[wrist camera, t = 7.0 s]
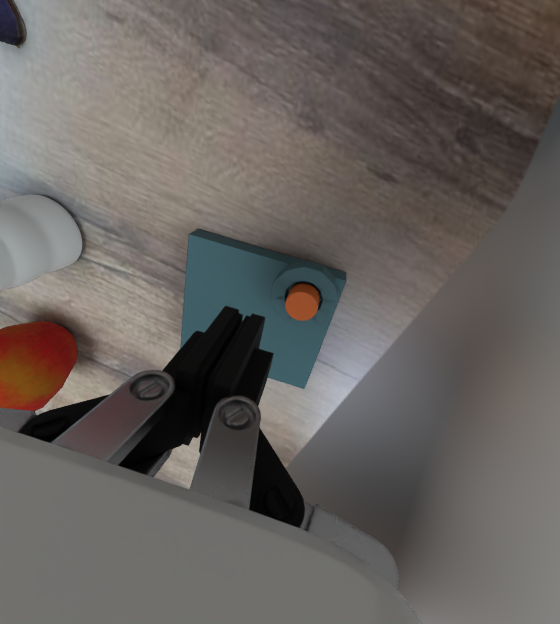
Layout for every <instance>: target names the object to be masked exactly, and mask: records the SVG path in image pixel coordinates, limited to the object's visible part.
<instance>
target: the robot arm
mask: <svg viewBox="0 0 560 624" xmlns="http://www.w3.org/2000/svg"><path fill="white" fill-rule="evenodd" d="M242 318H243V314H240V313H239V309H236V308H232V307H229V306H225V307H224V308H223V309H222V310H221V312H220V313H219V314H218V316H217V317H216V318H215V319H214V321H213V322H212V323H211V325H210V326H209V327H208V329H207V330H206V331H205V332H201V331H198V330H197V331H195V332H194V333H193V334H192V336H191V337H190V338H189V339H188V340H187V342H186V343H185V344H184V345H183V346H182V348H181V349H180V350H179V351H178V352H177V354H176V355H175V356H174V357H173V359H172V360H171V361H170V362H169V363H168V365H167V366H166V367H165V368H164V369H163V371H160V370H148V371H143V372H140V373H137V374H136V375H134V376H132V377H131V378H130V379H128V380H127V381H126V382H125V383H124V384H122V385H121V386H120V387H119V388H117V389H116V390H115V391H114V392H113V393H111V394H110V395H106V396H102V397H99V398H95V399H91V400H87V401H83V402H80V403H76V404H72V405H68V406H64V407H61V408H57V409H53V410H50V411H47V412H44V413H41V414H39V415H36V413H35V411H29V410H19V409H8V408H0V624H422V622H421V620H420V619H419V617H418V615H417V614H416V613H415V611H414V610H413V608H412V607H411V606H410V604H409V603H408V602H407V601H406V599H405V598H404V597H403V596H402V595H401V594H400V593H399V592H398V588H399V578H398V577H399V576H398V569H397V566H396V564H395V561H394V558H393V557H392V555H391V554H390V553H389V551H388V550H387V548H386V547H385V546H383V545H382V544H381V543H380V542H379V541H377V540H375V539H374V538H372V537H371V536H369V535H367V534H365V533H364V532H362V531H361V530H359V529H357V528H356V527H354V526H352V525H351V524H349V523H348V522H346V521H344V520H342V519H341V518H339V517H337V516H336V515H334V514H333V513H331V512H329V511H328V510H326V509H324V508H323V507H321V506H320V505H318V504H316V505H315V506H313V505H311V504H310V503H308V502H306V501H305V500H303V498H302V495H301V493H300V491H299V490H298V488H297V486H296V485H295V483H294V482H293V480H292V478H291V477H290V475H289V474H288V472H287V470H286V469H285V467H284V466H283V464H282V462H281V461H280V459H279V458H278V456H277V455H276V453H275V451H274V450H273V448H272V447H271V445H270V443H269V442H268V440H267V439H266V437H265V435H264V434H263V432H262V431H261V429H260V420H261V413H260V410H259V407H258V405H259V402H260V399H261V396H262V393H263V390H264V387H265V384H266V381H267V378H268V374H269V371H270V367H271V363H272V359H273V355H274V353H272V352H268V351H265V350H262V349H259V346H260V341H261V337H262V332H263V328H264V323H265V317H263V316H260V315H256V314H253V313H252V314H251V316H247V315H246V316H245V318H244V320H243V321H242ZM200 433H201V440H200V449H199V452H200V457H199V460H198V464H197V467H196V470H195V473H194V477H193V480H192V483H191V487H190V490H189V489H186V488H183V487H180V486H177V485H174V484H171V483H168V482H165V481H162V480H159V479H156V478H153V477H154V476H155V475H156V473H157V472H158V471H159V469H160V468H161V467H162V465H163V464H164V463H165V462H166V460H167V459H168V458H169V456H170V454H171V452H172V449H174V448H176V447H179V446H181V445H182V444H185V445H188V446H189V444H190V442H191V440H192V438H193V437H195V438H198V437H199V435H200Z"/></svg>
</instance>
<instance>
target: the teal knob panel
mask: <svg viewBox="0 0 560 624" xmlns="http://www.w3.org/2000/svg"><path fill="white" fill-rule="evenodd" d="M301 283H305V284H309V285H311V286H313V287H314V288H315V289H316V290H317V291H318V293H319V305H318V310H317V313H316V315H315V316H314V317H312V318H311V319H309V320H305V321H300V320H296V319H294V318H292V317H291V316H290V315H289V314H288V313H287V311H286V308H285V302H286V299H287V297H288V294H289V291H290V290H291V288H292V287H294V286H295V285H297V284H301ZM345 283H346V273H345V272H342V271H338V270H335V269H332V268H328V267H325V266H323V265H321V264H317V263H314V262H311V261H307V260H301V259H298V258H294V257H291V256H288V255H284V254H281V253H277V252H274V251H271V250H267V249H264V248H261V247H257V246H254V245H250V244H247V243H244V242H240V241H237V240H233V239H230V238H227V237H223V236H220V235H216V234H213V233H210V232H206V231H203V230H200V229H197V230H195V231H194V232H192V233H190V234H189V239H188V253H187V266H186V280H185V293H184V307H183V320H182V334H181V347H180V349H181V348H182V346H183V345H184V344H185V343H186V342H187V340H188V339H189V338H190V337H191V336H192V334H193V333H194V332H195V331H197V330H198V331H201V332H205V331H206V330H207V329H208V327H209V326H210V325H211V323H212V322H213V321H214V319H215V318H216V317H217V316H218V314H219V313H220V312H221V310H222V309H223V308H224V307H225V306H229V307H232V308H236V309H239V313H240V314H243V318H242V321H243V320H244V318H245V316H246V315H247V316H251V314H252V313H253V314H256V315H260V316H263V317H265V323H264V328H263V332H262V337H261V341H260V346H259V349H262V350H265V351H268V352H272V353H274V355H273V359H272V363H271V367H270V371H269V374H268V378H271V379H274V380H278V381H281V382H284V383H287V384H290V385H293V386H297V387H300V388H303V389H304V388H305V386H306V384H307V381H308V379H309V376H310V373H311V371H312V368H313V366H314V363H315V360H316V358H317V355H318V353H319V350H320V348H321V345H322V342H323V340H324V337H325V335H326V332H327V330H328V327H329V324H330V322H331V319H332V317H333V314H334V312H335V309H336V306H337V304H338V301H339V299H340V296H341V293H342V291H343V288H344V286H345Z"/></svg>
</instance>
